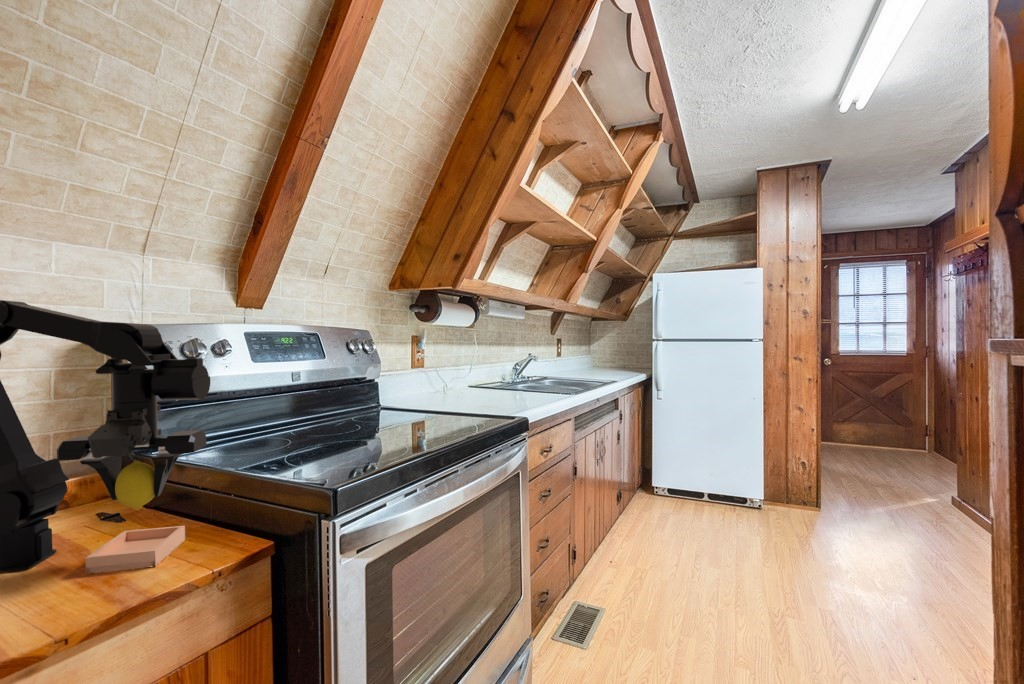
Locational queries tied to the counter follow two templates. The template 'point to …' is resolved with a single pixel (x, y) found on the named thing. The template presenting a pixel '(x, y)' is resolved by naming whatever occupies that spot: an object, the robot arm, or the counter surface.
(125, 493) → the lemon
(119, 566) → the dish
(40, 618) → the counter surface
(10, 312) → the robot arm
